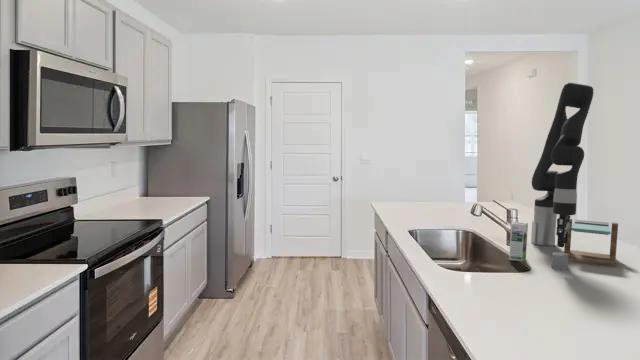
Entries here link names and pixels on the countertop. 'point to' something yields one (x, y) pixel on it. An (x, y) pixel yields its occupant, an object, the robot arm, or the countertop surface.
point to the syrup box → (518, 241)
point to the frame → (594, 257)
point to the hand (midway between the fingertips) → (562, 245)
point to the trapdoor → (591, 227)
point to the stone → (560, 260)
